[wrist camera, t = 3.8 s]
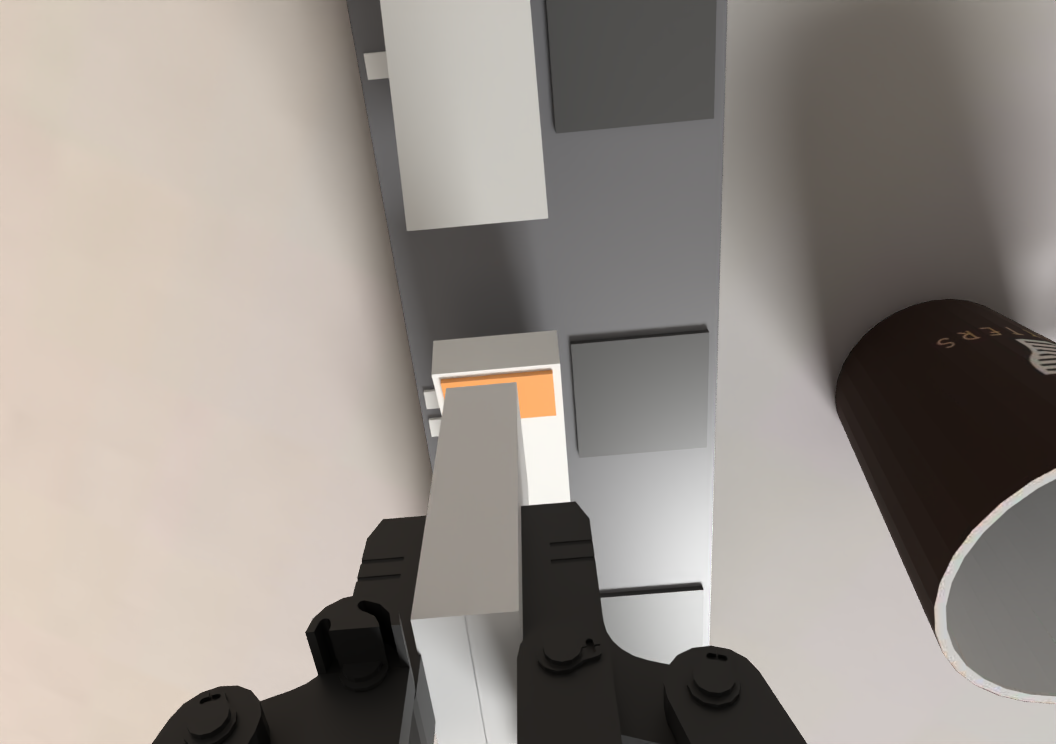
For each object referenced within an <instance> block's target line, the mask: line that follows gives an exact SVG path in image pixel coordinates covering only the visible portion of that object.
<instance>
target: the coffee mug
mask: <svg viewBox="0 0 1056 744" xmlns="http://www.w3.org/2000/svg"><path fill="white" fill-rule="evenodd" d="M835 397H836V406H837V412H838V415H839V417H840V420H841V423H842V425H843V427H844V430H845V432H846V434H847V437H848V439H849V441H850V443H851V446H852V448H853V450H854V452H855V455H856V457H857V459H858V462H859V464H860V466H861V468H862V471H863V473H864V475H865V477H866V480H867V482H868V484H869V487H870V489H871V491H872V493H873V496H874V498H875V500H876V502H877V505H878V507H879V509H880V512H881V514H882V516H883V518H884V521H885V523H886V525H887V527H888V530H889V532H890V534H891V537H892V539H893V541H894V543H895V546H896V548H897V550H898V552H899V555H900V557H901V559H902V562H903V564H904V566H905V568H906V571H907V573H908V575H909V577H910V580H911V582H912V584H913V587H914V589H915V591H916V593H917V596H918V598H919V600H920V602H921V605H922V607H923V609H924V612H925V614H926V616H927V618H928V621H929V623H930V625H931V627H932V630H933V632H934V634H935V637H936V639H937V641H938V643H939V646H940V648H941V650H942V652H943V654H944V655H945V657H946V658H947V659H948V661H949V662H950V663H951V665H952V666H953V667H954V669H955V670H956V671H957V672H958V673H960V674H961V675H962V676H964V677H965V678H966V679H968V680H969V681H970V682H972V683H973V684H974V685H976V686H978V687H980V688H983V689H985V690H987V691H989V692H992V693H994V694H996V695H998V696H1003V697H1007V698H1011V699H1015V700H1020V701H1024V702H1035V703H1049V704H1056V343H1055V342H1053V341H1052V340H1050V339H1048V338H1046V337H1044V336H1042V335H1040V334H1038V333H1036V332H1034V331H1032V330H1030V329H1028V328H1026V327H1024V326H1022V325H1021V324H1019V323H1017V322H1015V321H1013V320H1011V319H1009V318H1007V317H1005V316H1003V315H1001V314H999V313H997V312H995V311H993V310H991V309H989V308H988V307H986V306H983V305H980V304H977V303H974V302H970V301H964V300H955V299H946V300H934V301H929V302H925V303H921V304H917V305H913V306H911V307H908V308H906V309H904V310H901V311H899V312H897V313H895V314H893V315H891V316H890V317H888V318H886V319H885V320H883V321H882V322H880V323H878V324H877V325H876V326H875V327H874V328H873V329H871V330H870V331H869V332H868V333H867V334H866V335H864V336H863V337H862V339H861V340H860V341H859V342H858V343H857V345H856V346H855V347H854V348H853V349H852V351H851V352H850V354H849V356H848V357H847V359H846V361H845V363H844V364H843V366H842V369H841V372H840V375H839V378H838V381H837V388H836V396H835Z"/></svg>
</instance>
